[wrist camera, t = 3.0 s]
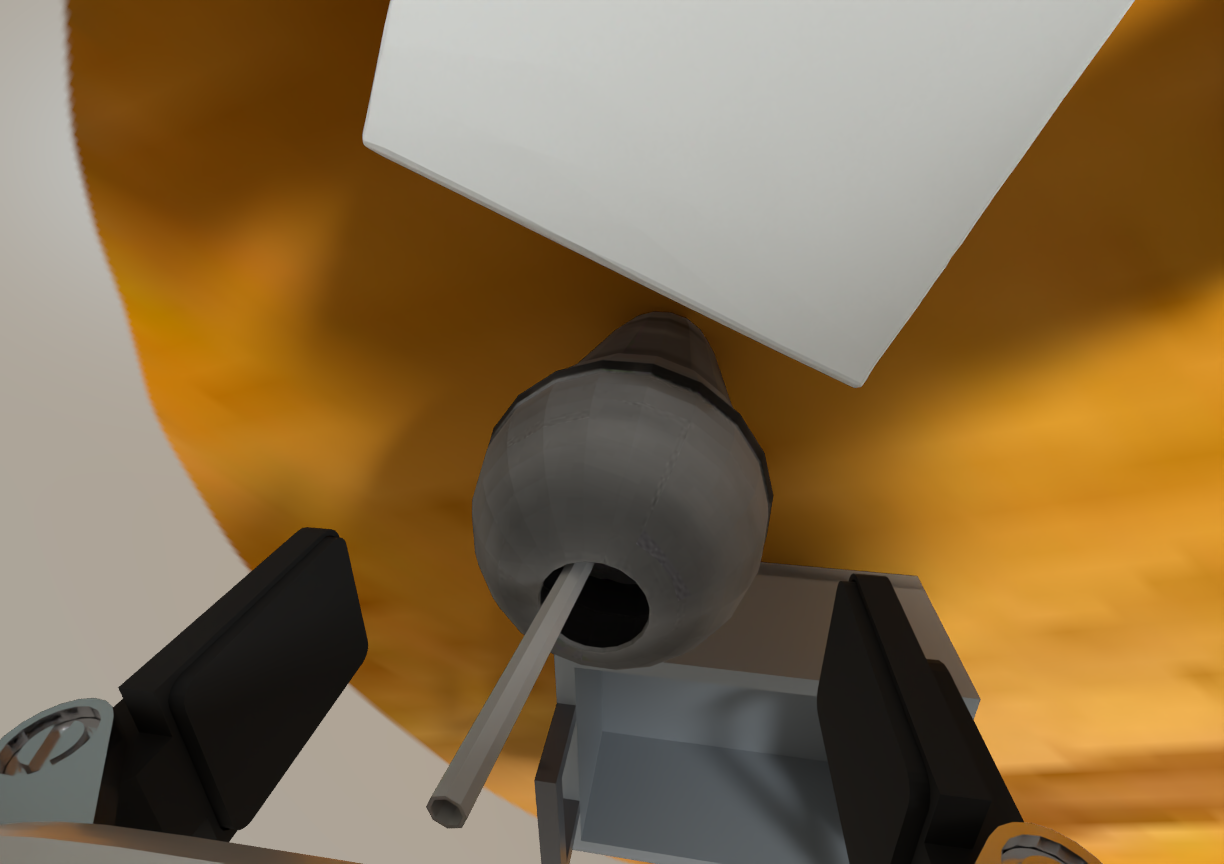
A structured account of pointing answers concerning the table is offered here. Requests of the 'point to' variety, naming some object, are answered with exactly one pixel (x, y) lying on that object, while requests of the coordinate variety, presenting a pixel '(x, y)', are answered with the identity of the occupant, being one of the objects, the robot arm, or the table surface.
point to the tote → (713, 737)
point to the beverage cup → (612, 521)
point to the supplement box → (738, 140)
